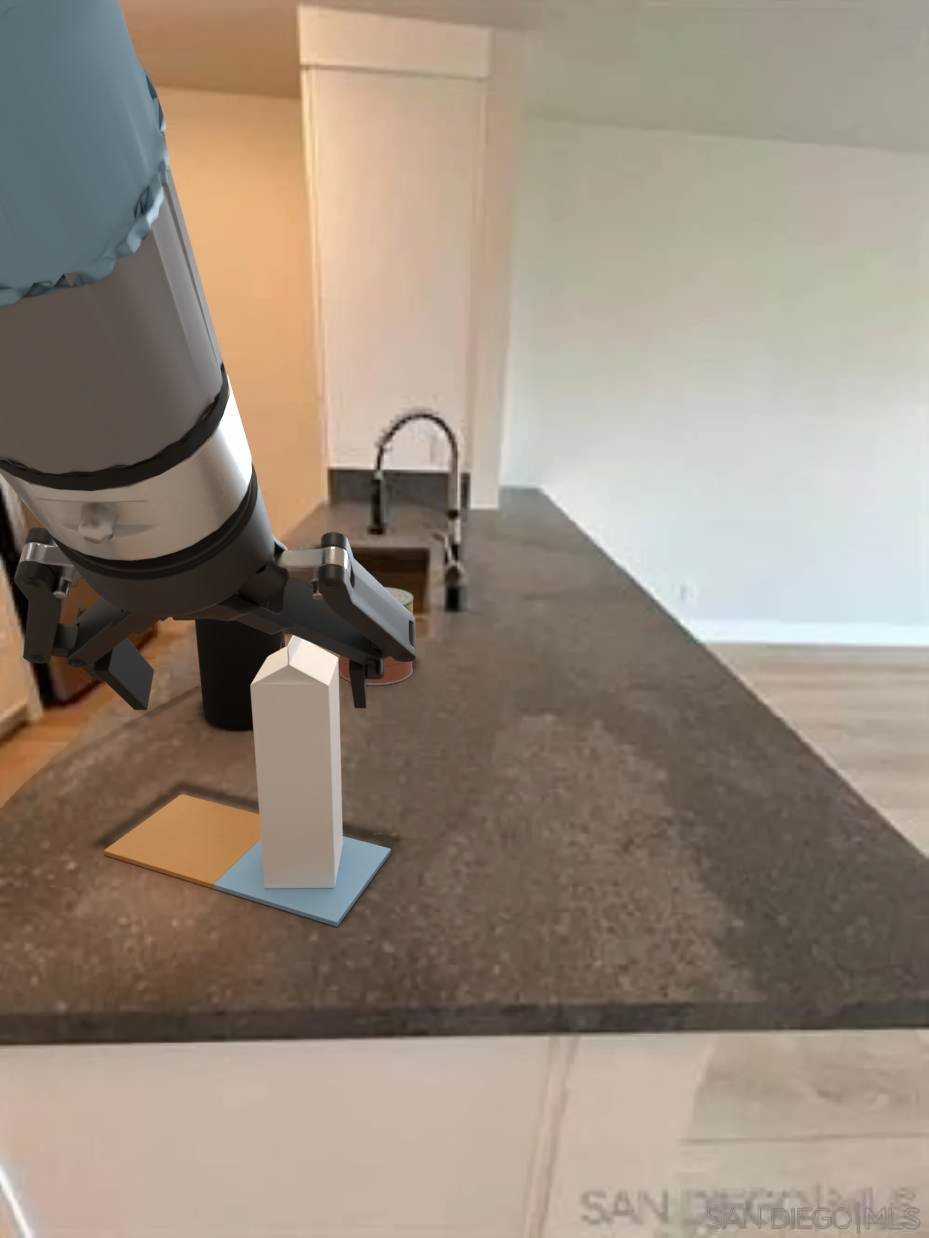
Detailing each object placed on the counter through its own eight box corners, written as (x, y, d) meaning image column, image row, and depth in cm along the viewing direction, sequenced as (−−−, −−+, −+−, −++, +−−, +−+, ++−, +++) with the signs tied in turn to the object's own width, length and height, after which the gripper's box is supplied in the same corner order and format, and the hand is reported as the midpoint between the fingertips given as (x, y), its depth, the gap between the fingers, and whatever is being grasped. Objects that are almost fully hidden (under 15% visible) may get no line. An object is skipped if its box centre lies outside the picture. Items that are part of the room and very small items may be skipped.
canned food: (403, 655, 111) (403, 585, 107) (420, 681, 101) (422, 605, 97) (334, 661, 108) (332, 588, 104) (345, 689, 98) (343, 610, 94)
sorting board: (103, 855, 61) (103, 850, 61) (182, 797, 70) (181, 793, 70) (337, 927, 54) (337, 922, 54) (391, 852, 63) (391, 848, 63)
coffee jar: (300, 719, 88) (294, 586, 82) (216, 739, 82) (204, 598, 76) (272, 690, 96) (265, 568, 91) (194, 707, 90) (181, 577, 85)
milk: (343, 845, 63) (339, 621, 56) (335, 889, 57) (330, 646, 50) (277, 845, 63) (265, 619, 56) (262, 890, 57) (247, 644, 50)
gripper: (-277, 566, 22) (35, 749, 40) (493, 576, 24) (449, 743, 43) (-186, 392, 25) (63, 636, 44) (482, 417, 28) (445, 636, 46)
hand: (254, 689), depth 43 cm, fingers open, 13 cm apart
